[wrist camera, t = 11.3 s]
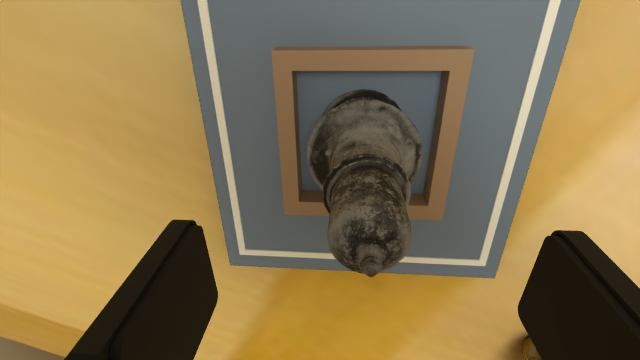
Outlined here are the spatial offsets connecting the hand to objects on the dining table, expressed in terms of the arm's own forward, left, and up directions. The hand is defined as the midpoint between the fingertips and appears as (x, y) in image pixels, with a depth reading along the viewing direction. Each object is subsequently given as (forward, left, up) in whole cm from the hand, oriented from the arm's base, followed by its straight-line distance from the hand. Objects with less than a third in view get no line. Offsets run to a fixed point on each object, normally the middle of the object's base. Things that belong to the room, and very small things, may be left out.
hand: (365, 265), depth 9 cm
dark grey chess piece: (0, 0, -12) cm, 12 cm away
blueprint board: (+1, 0, -13) cm, 13 cm away
